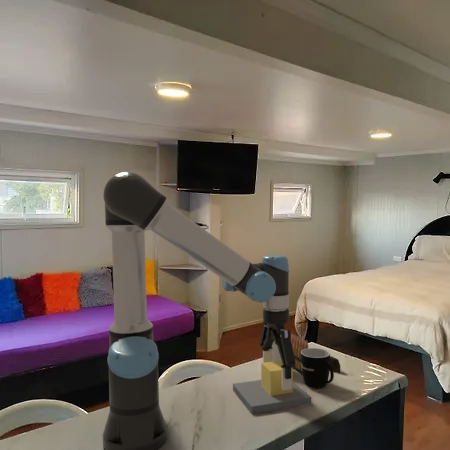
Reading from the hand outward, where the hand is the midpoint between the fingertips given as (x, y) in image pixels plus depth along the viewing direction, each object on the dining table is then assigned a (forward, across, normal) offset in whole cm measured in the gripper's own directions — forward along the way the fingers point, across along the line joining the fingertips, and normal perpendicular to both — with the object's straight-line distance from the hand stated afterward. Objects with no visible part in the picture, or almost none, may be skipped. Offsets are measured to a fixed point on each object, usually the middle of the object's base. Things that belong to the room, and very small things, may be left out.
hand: (276, 380), depth 127 cm
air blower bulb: (+5, +18, -8) cm, 20 cm away
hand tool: (+5, +18, -25) cm, 31 cm away
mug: (+5, +2, -15) cm, 16 cm away
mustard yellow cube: (+3, 0, 0) cm, 3 cm away
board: (+5, 0, +2) cm, 5 cm away
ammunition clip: (+5, +15, -15) cm, 22 cm away
